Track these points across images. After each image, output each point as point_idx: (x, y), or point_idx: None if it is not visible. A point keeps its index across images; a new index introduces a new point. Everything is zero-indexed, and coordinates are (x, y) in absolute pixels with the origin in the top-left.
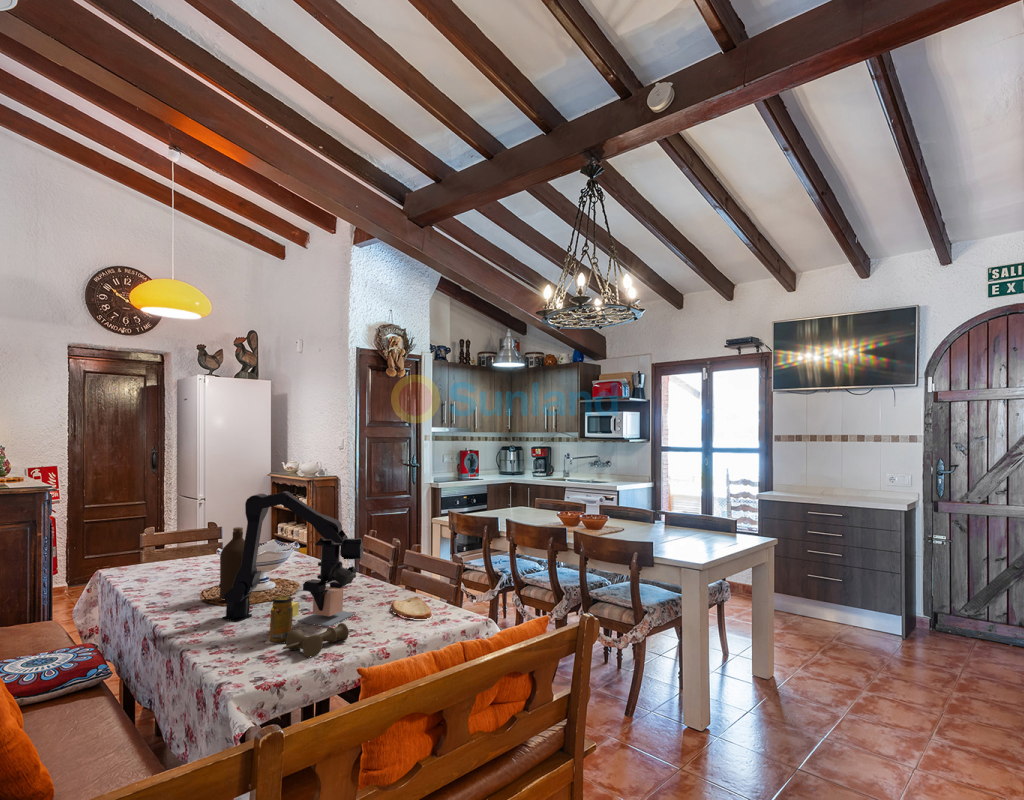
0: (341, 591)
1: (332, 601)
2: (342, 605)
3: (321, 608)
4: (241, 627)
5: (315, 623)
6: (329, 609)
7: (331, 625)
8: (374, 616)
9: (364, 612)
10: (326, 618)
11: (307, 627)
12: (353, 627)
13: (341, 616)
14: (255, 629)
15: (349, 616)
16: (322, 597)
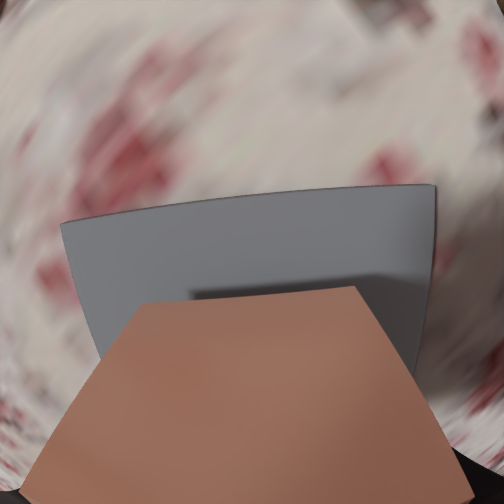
0: (76, 478)
1: (355, 389)
2: (126, 330)
3: None
4: None
5: (424, 314)
6: (375, 325)
7: (401, 185)
8: (30, 85)
9: (10, 213)
10: None
11: (463, 313)
12: (319, 9)
13: (181, 269)
14: (494, 431)
15: (138, 210)
16: (473, 472)
